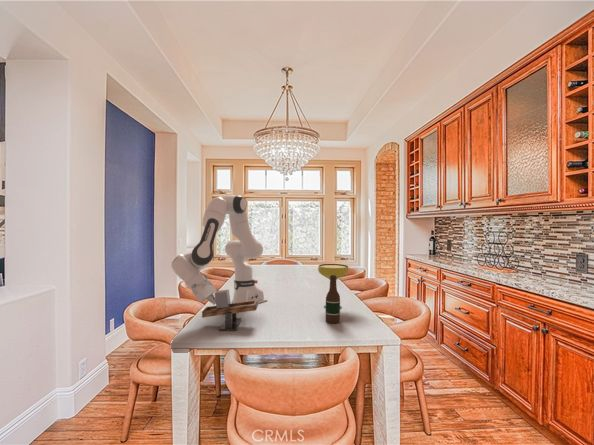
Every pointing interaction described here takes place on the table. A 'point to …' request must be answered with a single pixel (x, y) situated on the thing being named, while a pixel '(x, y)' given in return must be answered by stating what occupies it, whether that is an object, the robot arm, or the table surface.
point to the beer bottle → (333, 302)
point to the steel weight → (222, 299)
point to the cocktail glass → (333, 271)
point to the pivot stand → (230, 322)
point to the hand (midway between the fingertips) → (215, 303)
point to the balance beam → (230, 309)
